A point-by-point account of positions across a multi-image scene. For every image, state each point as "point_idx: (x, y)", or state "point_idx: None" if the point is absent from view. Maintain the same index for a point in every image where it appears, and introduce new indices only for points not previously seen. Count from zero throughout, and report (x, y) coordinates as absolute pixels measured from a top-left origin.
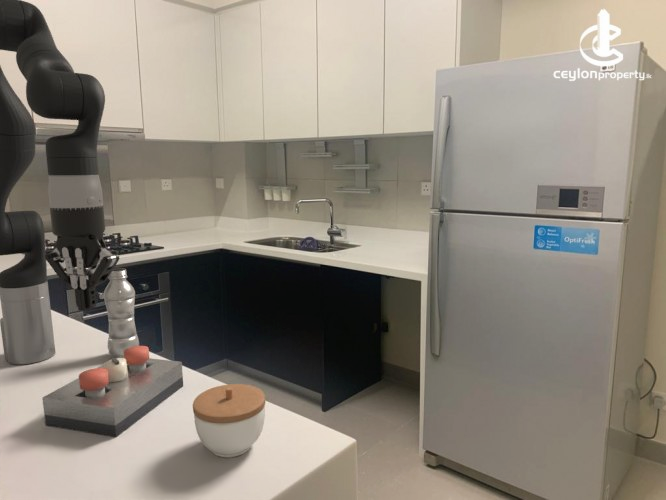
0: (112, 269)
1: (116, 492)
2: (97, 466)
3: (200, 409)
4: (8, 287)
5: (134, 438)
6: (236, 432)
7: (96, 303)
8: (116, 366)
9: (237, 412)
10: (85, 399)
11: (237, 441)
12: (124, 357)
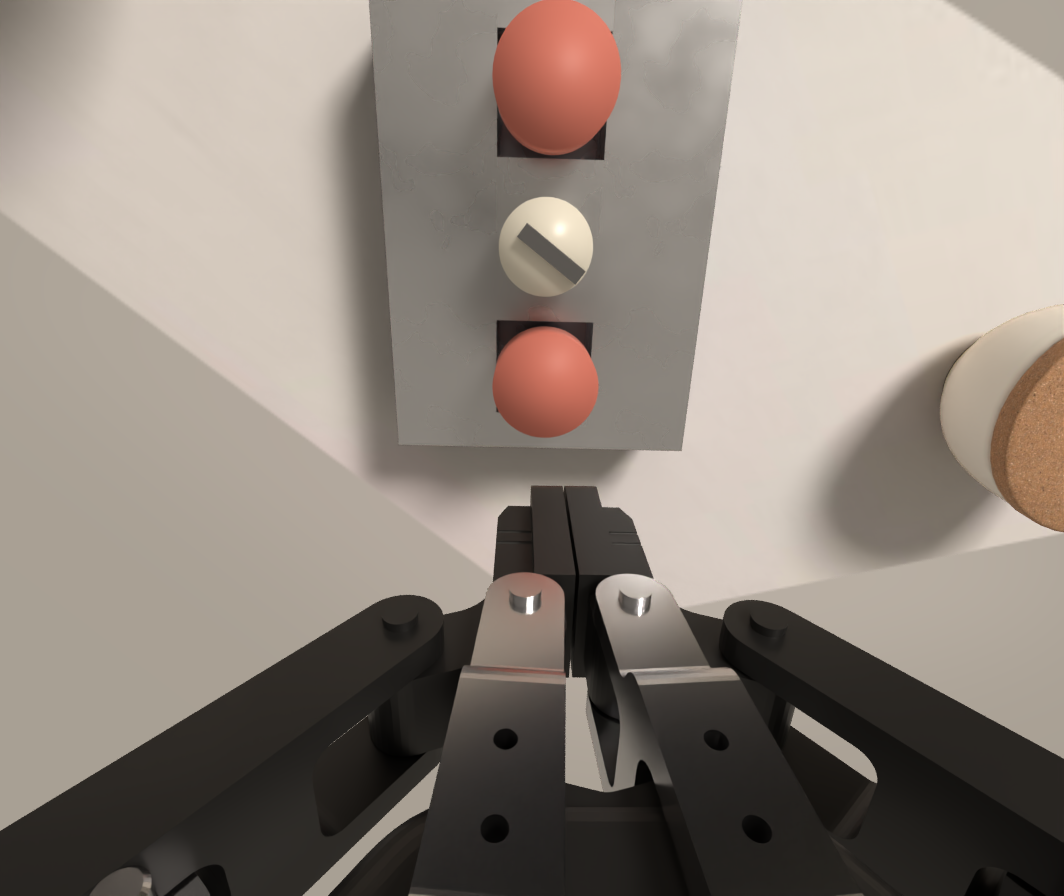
0: (1007, 739)
1: (781, 583)
2: (689, 526)
3: (1044, 512)
4: None
5: (712, 410)
6: None
7: (630, 519)
8: (577, 282)
9: None
10: None
11: None
12: (518, 138)
